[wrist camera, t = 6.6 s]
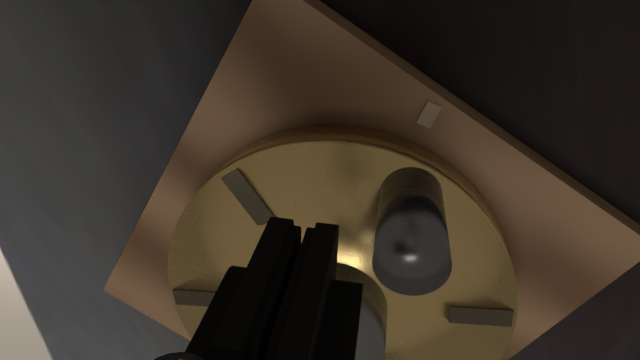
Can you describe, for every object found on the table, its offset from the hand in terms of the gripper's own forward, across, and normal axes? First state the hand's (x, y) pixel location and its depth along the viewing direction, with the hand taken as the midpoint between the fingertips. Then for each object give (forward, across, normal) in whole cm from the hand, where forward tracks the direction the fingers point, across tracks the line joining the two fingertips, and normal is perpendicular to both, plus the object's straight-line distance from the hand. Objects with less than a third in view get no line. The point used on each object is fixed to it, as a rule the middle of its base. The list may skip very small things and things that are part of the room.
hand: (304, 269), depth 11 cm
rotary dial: (+9, 0, +8) cm, 12 cm away
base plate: (+11, 0, +8) cm, 14 cm away
